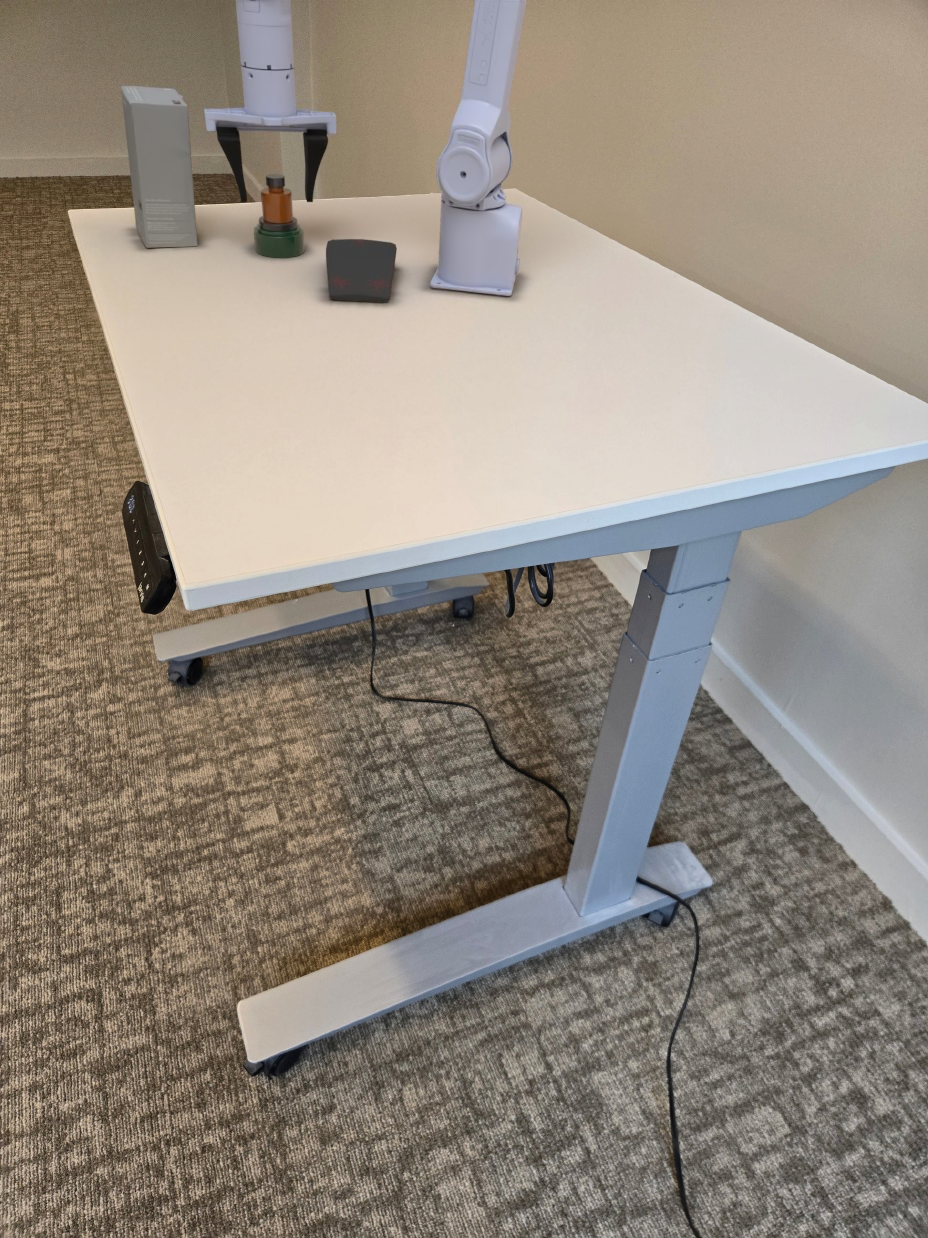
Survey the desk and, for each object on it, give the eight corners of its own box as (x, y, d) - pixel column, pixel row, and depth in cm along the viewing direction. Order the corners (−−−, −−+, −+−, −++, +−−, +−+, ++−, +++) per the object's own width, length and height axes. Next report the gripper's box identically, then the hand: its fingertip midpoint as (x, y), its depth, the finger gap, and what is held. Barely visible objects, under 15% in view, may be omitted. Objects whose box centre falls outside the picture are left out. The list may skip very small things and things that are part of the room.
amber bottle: (298, 217, 106) (295, 174, 103) (285, 225, 103) (282, 181, 100) (271, 213, 107) (268, 170, 104) (257, 220, 104) (254, 176, 101)
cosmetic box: (135, 229, 110) (111, 84, 100) (193, 226, 112) (175, 84, 102) (145, 250, 104) (120, 98, 94) (205, 246, 107) (188, 98, 96)
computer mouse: (396, 264, 106) (396, 229, 104) (396, 303, 96) (396, 266, 93) (329, 260, 106) (328, 225, 103) (322, 300, 95) (320, 263, 93)
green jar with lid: (310, 245, 110) (308, 215, 107) (297, 260, 105) (295, 228, 103) (263, 240, 110) (261, 210, 108) (248, 254, 105) (245, 223, 103)
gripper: (199, 69, 91) (214, 208, 99) (338, 74, 94) (341, 209, 102) (199, 59, 96) (213, 192, 104) (330, 64, 99) (334, 193, 108)
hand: (276, 199), depth 104 cm, fingers open, 7 cm apart
